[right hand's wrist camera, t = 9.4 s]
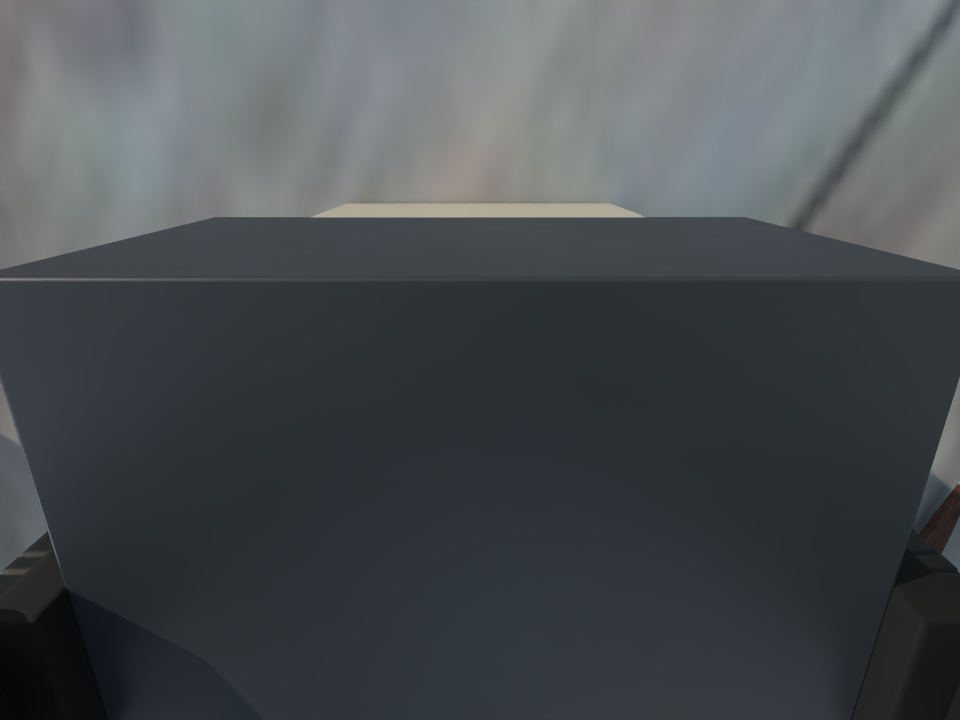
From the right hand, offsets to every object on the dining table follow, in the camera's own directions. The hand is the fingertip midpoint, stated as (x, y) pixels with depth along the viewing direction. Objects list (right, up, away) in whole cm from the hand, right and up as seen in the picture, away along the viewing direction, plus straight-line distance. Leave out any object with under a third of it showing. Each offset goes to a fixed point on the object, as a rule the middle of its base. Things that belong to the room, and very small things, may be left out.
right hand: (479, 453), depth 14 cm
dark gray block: (0, 0, 0) cm, 0 cm away
